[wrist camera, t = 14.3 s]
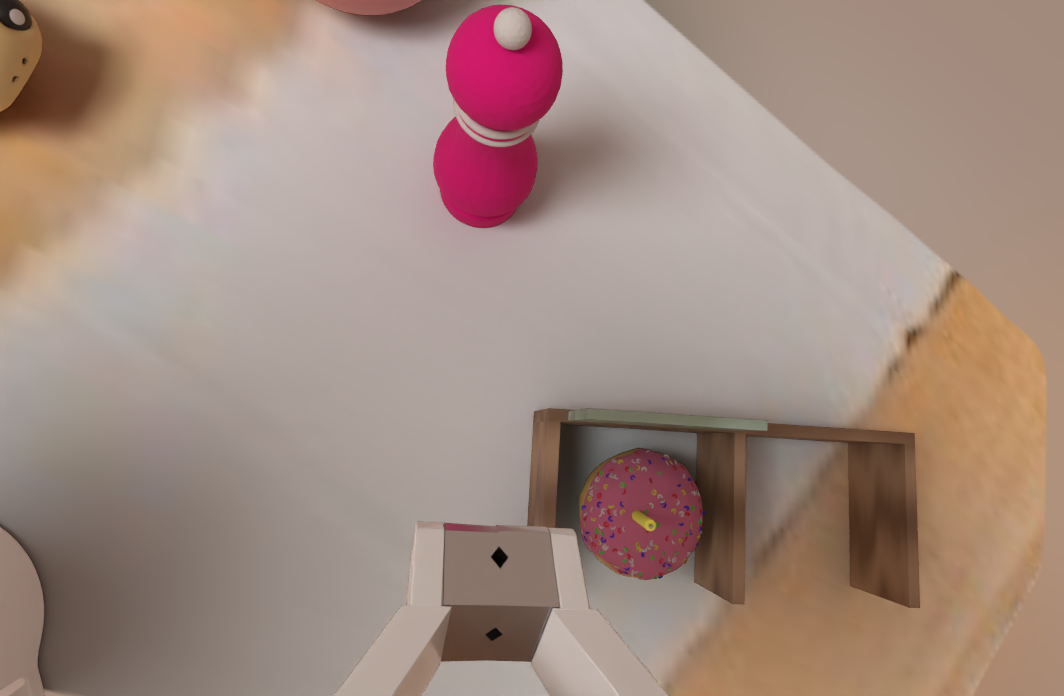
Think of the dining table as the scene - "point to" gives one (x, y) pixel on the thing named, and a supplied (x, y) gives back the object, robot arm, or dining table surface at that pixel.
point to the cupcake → (641, 514)
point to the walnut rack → (874, 494)
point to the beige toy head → (16, 49)
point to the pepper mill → (495, 112)
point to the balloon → (369, 6)
